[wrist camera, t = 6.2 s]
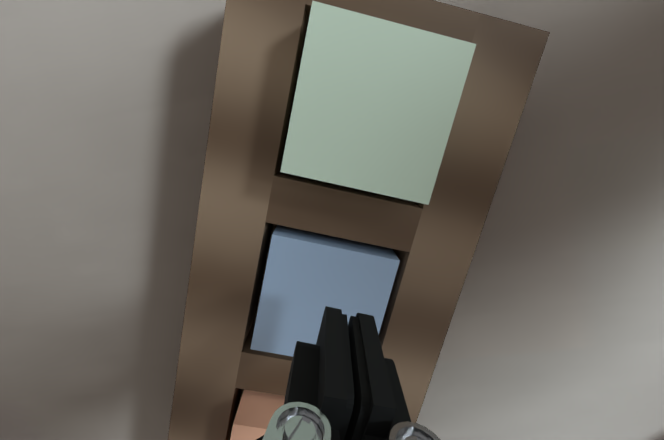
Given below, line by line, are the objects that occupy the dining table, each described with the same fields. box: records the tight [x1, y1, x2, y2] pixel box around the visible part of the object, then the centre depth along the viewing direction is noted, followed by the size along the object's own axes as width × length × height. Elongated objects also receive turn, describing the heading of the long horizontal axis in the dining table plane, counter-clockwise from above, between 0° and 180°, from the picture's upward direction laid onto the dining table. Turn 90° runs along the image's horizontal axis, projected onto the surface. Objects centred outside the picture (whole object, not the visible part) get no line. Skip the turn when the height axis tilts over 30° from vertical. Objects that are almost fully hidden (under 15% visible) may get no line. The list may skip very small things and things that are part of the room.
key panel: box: [168, 0, 550, 440], centre depth 17 cm, size 26×12×4 cm, turn 167°
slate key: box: [250, 225, 400, 357], centre depth 16 cm, size 6×6×3 cm
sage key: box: [280, 1, 476, 205], centre depth 13 cm, size 6×6×3 cm
